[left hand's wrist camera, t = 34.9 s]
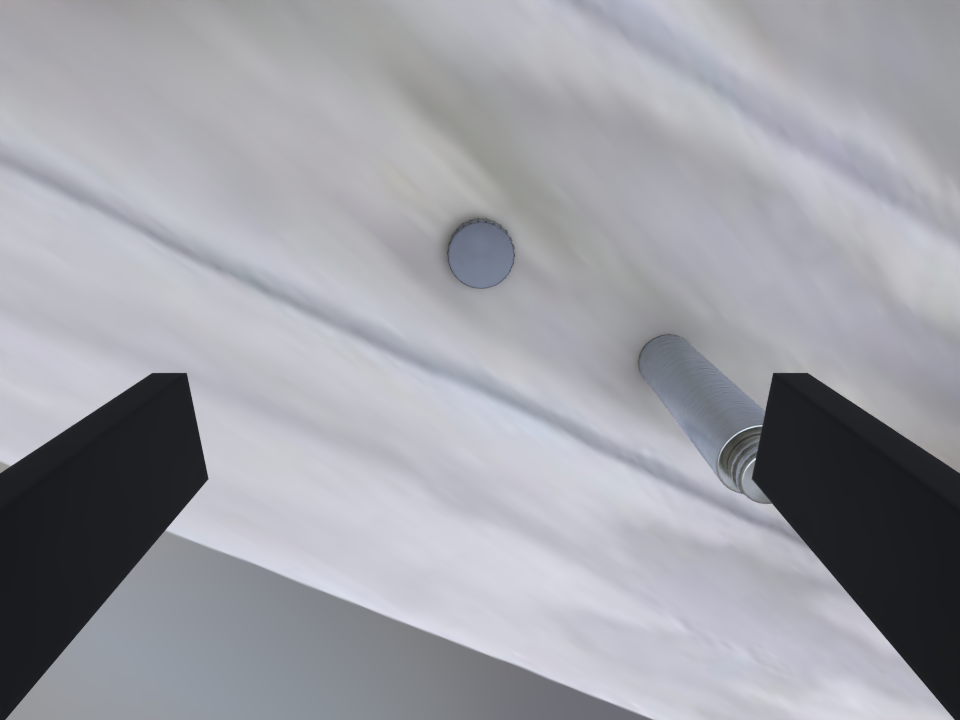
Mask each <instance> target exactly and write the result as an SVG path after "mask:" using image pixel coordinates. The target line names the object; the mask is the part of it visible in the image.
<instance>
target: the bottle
mask: <svg viewBox="0 0 960 720" xmlns="http://www.w3.org/2000/svg"><path fill="white" fill-rule="evenodd" d="M639 369H640V372H641V374H642V376H643V377H644V378H645V380H646V381H647V383H648V384H649V385H650V387H651V388H652V389H653V391H654V392H655V393H656V395H657V396H658V397H659V399H660V400H661V401H662V403H663V404H664V405H665V407H666V408H667V409H668V411H669V412H670V413H671V415H672V416H673V417H674V419H675V420H676V422H677V423H678V424H679V426H680V427H681V428H682V430H683V431H684V432H685V434H686V435H687V436H688V438H689V439H690V440H691V442H692V443H693V444H694V446H695V447H696V448H697V450H698V451H699V452H700V454H701V455H702V457H703V458H704V459H705V461H706V462H707V463H708V465H709V466H710V467H711V469H712V470H713V471H714V473H715V474H716V475H717V477H718V478H719V479H720V481H721V482H722V483H723V484H724V485H725V486H726V487H727V488H729V489H730V490H733V491H735V492H738V493H741V494H744V495H746V496H747V497H748V498H749V499H751V500H753V501H755V502H758V503H763V504H771V501H770V500H769V499H768V498H767V497H766V495H765V494H764V493H763V492H762V491H761V490H760V488H759V487H758V486H757V485H756V484H755V482H754V481H753V480H752V475H753V470H754V465H755V460H756V455H757V450H758V445H759V440H760V436H761V431H762V426H763V421H764V416H765V411H764V410H763V409H762V408H761V407H760V406H759V405H758V404H756V403H755V402H754V401H753V400H752V399H751V398H750V397H749V396H747V395H746V394H745V393H744V392H743V391H742V390H741V389H740V388H738V387H737V386H736V385H735V384H734V383H733V382H732V381H731V380H730V379H728V378H727V377H726V376H725V375H724V374H723V373H722V372H721V371H719V370H718V369H717V368H716V367H715V366H714V365H713V364H712V363H710V362H709V361H708V360H707V359H706V358H705V357H704V356H703V355H701V354H700V353H699V352H698V351H697V350H696V349H695V348H694V347H692V346H691V345H690V344H689V343H688V342H687V341H686V340H684V339H683V338H681V337H679V336H675V335H664V336H660V337H657V338H655V339H653V340H652V341H650V342H649V343H648V344H647V345H646V346H645V347H644V349H643V350H642V352H641V354H640V357H639Z"/></svg>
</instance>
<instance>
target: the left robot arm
mask: <svg viewBox="0 0 960 720" xmlns="http://www.w3.org/2000/svg"><path fill="white" fill-rule="evenodd" d="M207 480H208V475H207V470H206V465H205V460H204V455H203V450H202V445H201V440H200V436H199V431H198V426H197V421H196V416H195V411H194V406H193V402H192V397H191V392H190V387H189V382H188V377H187V373H152V374H150V375H149V376H147V377H146V378H144V379H143V380H141V381H140V382H138V383H137V384H135V385H134V386H132V387H131V388H129V389H128V390H126V391H125V392H123V393H121V394H120V395H118V396H117V397H115V398H114V399H112V400H111V401H109V402H108V403H106V404H105V405H103V406H102V407H100V408H99V409H97V410H96V411H94V412H93V413H91V414H90V415H88V416H87V417H85V418H84V419H82V420H81V421H79V422H77V423H76V424H74V425H73V426H71V427H70V428H68V429H67V430H65V431H64V432H62V433H61V434H59V435H58V436H56V437H55V438H53V439H52V440H50V441H49V442H47V443H46V444H44V445H43V446H41V447H40V448H38V449H37V450H35V451H34V452H32V453H30V454H29V455H27V456H26V457H24V458H23V459H21V460H20V461H18V462H17V463H15V464H14V465H12V466H11V467H9V468H8V469H6V470H5V471H3V472H2V473H0V720H5V719H6V718H7V717H8V716H9V715H10V713H11V712H12V711H13V710H14V709H15V708H16V706H17V705H18V704H19V703H20V702H21V700H22V699H23V698H24V697H25V696H26V695H27V693H28V692H29V691H30V690H31V689H32V687H33V686H34V685H35V684H36V683H37V681H38V680H39V679H40V678H41V677H42V676H43V674H44V673H45V672H46V671H47V670H48V668H49V667H50V666H51V665H52V664H53V662H54V661H55V660H56V659H57V658H58V657H59V655H60V654H61V653H62V652H63V651H64V649H65V648H66V647H67V646H68V645H69V644H70V642H71V641H72V640H73V639H74V638H75V636H76V635H77V634H78V633H79V632H80V631H81V629H82V628H83V627H84V626H85V625H86V623H87V622H88V621H89V620H90V619H91V617H92V616H93V615H94V614H95V613H96V612H97V610H98V609H99V608H100V607H101V606H102V604H103V603H104V602H105V601H106V600H107V598H108V597H109V596H110V595H111V594H112V593H113V591H114V590H115V589H116V588H117V587H118V585H119V584H120V583H121V582H122V581H123V580H124V578H125V577H126V576H127V575H128V574H129V572H130V571H131V570H132V569H133V568H134V567H135V565H136V564H137V563H138V562H139V561H140V559H141V558H142V557H143V556H144V555H145V554H146V552H147V551H148V550H149V549H150V548H151V546H152V545H153V544H154V543H155V542H156V540H157V539H158V538H159V537H160V536H161V535H162V533H163V532H164V531H165V530H166V529H167V527H168V526H169V525H170V524H171V523H172V522H173V520H174V519H175V518H176V517H177V516H178V514H179V513H180V512H181V511H182V510H183V508H184V507H185V506H186V505H187V504H188V503H189V501H190V500H191V499H192V498H193V497H194V495H195V494H196V493H197V492H198V491H199V490H200V488H201V487H202V486H203V485H204V484H205V482H206V481H207ZM752 480H753V481H754V482H755V484H756V485H757V486H758V487H759V488H760V490H761V491H762V492H763V493H764V494H765V495H766V497H767V498H768V499H769V500H770V501H771V503H772V504H773V505H774V506H775V507H776V508H777V510H778V511H779V512H780V513H781V514H782V516H783V517H784V518H785V519H786V520H787V522H788V523H789V524H790V525H791V526H792V527H793V529H794V530H795V531H796V532H797V533H798V535H799V536H800V537H801V538H802V539H803V540H804V542H805V543H806V544H807V545H808V546H809V548H810V549H811V550H812V551H813V552H814V554H815V555H816V556H817V557H818V558H819V559H820V561H821V562H822V563H823V564H824V565H825V567H826V568H827V569H828V570H829V571H830V572H831V574H832V575H833V576H834V577H835V578H836V580H837V581H838V582H839V583H840V584H841V585H842V587H843V588H844V589H845V590H846V591H847V593H848V594H849V595H850V596H851V597H852V599H853V600H854V601H855V602H856V603H857V604H858V606H859V607H860V608H861V609H862V610H863V612H864V613H865V614H866V615H867V616H868V617H869V619H870V620H871V621H872V622H873V623H874V625H875V626H876V627H877V628H878V629H879V631H880V632H881V633H882V634H883V635H884V636H885V638H886V639H887V640H888V641H889V642H890V644H891V645H892V646H893V647H894V648H895V649H896V651H897V652H898V653H899V654H900V655H901V657H902V658H903V659H904V660H905V661H906V663H907V664H908V665H909V666H910V667H911V668H912V670H913V671H914V672H915V673H916V674H917V676H918V677H919V678H920V679H921V680H922V681H923V683H924V684H925V685H926V686H927V687H928V689H929V690H930V691H931V692H932V693H933V695H934V696H935V697H936V698H937V699H938V700H939V702H940V703H941V704H942V705H943V706H944V708H945V709H946V710H947V711H948V712H949V713H950V715H951V716H952V717H953V718H954V719H955V720H960V473H958V472H957V471H955V470H954V469H952V468H951V467H949V466H948V465H946V464H945V463H943V462H942V461H940V460H939V459H937V458H936V457H934V456H933V455H931V454H930V453H928V452H926V451H925V450H923V449H922V448H920V447H919V446H917V445H916V444H914V443H913V442H911V441H910V440H908V439H907V438H905V437H904V436H902V435H901V434H899V433H898V432H896V431H895V430H893V429H892V428H890V427H889V426H887V425H886V424H884V423H883V422H881V421H879V420H878V419H876V418H875V417H873V416H872V415H870V414H869V413H867V412H866V411H864V410H863V409H861V408H860V407H858V406H857V405H855V404H854V403H852V402H851V401H849V400H848V399H846V398H845V397H843V396H842V395H840V394H839V393H837V392H835V391H834V390H832V389H831V388H829V387H828V386H826V385H825V384H823V383H822V382H820V381H819V380H817V379H816V378H814V377H813V376H811V375H810V374H808V373H773V377H772V382H771V387H770V392H769V397H768V402H767V406H766V411H765V416H764V421H763V426H762V431H761V436H760V440H759V445H758V450H757V455H756V460H755V465H754V470H753V475H752Z"/></svg>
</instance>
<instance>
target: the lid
mask: <svg viewBox="0 0 960 720" xmlns="http://www.w3.org/2000/svg"><path fill="white" fill-rule="evenodd" d="M451 239H452V240H451V242H449V245H448V247H449V250H448V252H447V255H448V263H449V265H450V268H451V270H452V272H453V273H454V275H455V276H456V277H457V278H458V279H459V280H460V281H461V282H462V283H464V284H466V285H468V286H470V287H473V288H489V287H492V286H495V285H497V284H498V283H500V282H501V281H503V280H504V279H505V278H506V276H507V275H508V274H509V272H510V270H511V268H512V265H513V264H514V263H513V261H514V257H515V254H514V245H513V244H512V242H511V241H512V239H511V237H509V235H508V232H507V230H506V231H505V230H504V229H503V228H502V225H498V224H497V223H495V221H493V222H492V221H489V220H487V219H485V220H484V219H479V218H477V220H473V221H471V220H470V221H469V222H467V223H466V224H464V223H463V224H462V226H461V227H460V228H459V229H458V228H457V229H456V233H455V234H454V235H452V237H451Z"/></svg>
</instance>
